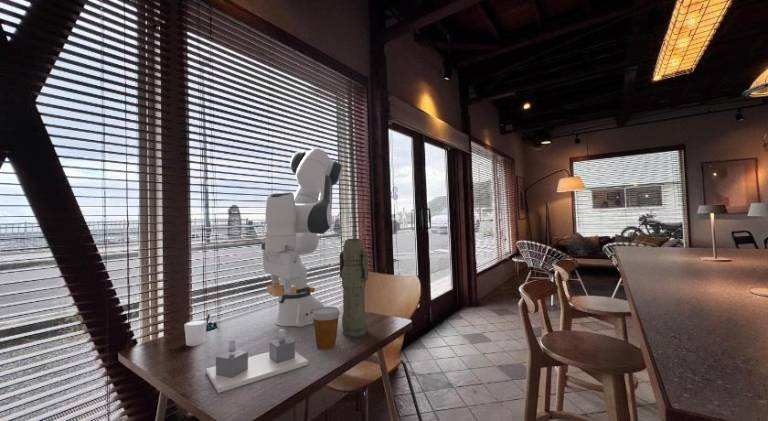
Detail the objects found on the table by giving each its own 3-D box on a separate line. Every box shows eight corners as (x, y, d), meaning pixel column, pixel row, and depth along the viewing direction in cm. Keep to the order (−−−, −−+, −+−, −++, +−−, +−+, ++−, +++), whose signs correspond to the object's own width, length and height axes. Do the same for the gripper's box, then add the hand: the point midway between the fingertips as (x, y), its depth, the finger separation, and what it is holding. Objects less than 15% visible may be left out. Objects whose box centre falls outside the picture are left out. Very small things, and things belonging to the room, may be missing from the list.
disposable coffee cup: (329, 338, 117) (329, 304, 117) (346, 346, 110) (345, 309, 110) (306, 346, 110) (305, 310, 110) (322, 354, 103) (321, 316, 104)
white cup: (196, 347, 111) (196, 326, 111) (179, 345, 112) (179, 325, 112) (211, 339, 117) (211, 320, 118) (194, 338, 119) (194, 319, 119)
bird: (191, 326, 126) (207, 311, 131) (195, 334, 131) (211, 319, 136) (206, 337, 124) (222, 321, 129) (210, 345, 129) (225, 329, 134)
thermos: (346, 327, 128) (345, 238, 129) (373, 331, 124) (372, 238, 125) (334, 335, 120) (333, 239, 121) (363, 339, 116) (362, 240, 117)
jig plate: (288, 350, 107) (288, 319, 107) (308, 364, 96) (307, 330, 96) (206, 372, 92) (206, 336, 92) (218, 392, 81) (218, 351, 81)
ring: (287, 289, 103) (287, 283, 103) (296, 293, 98) (296, 286, 98) (267, 292, 99) (267, 286, 99) (275, 296, 94) (275, 289, 94)
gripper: (306, 246, 93) (306, 295, 93) (278, 242, 109) (278, 284, 109) (284, 247, 89) (285, 299, 89) (259, 244, 105) (259, 287, 105)
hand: (281, 291), depth 99 cm, fingers closed on ring, 6 cm apart
